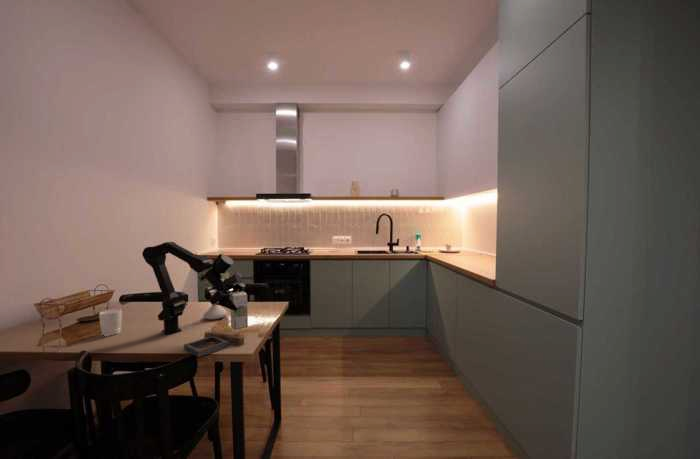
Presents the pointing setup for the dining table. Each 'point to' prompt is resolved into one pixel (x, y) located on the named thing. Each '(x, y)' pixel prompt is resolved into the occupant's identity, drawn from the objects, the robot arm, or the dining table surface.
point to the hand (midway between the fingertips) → (241, 307)
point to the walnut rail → (226, 337)
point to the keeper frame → (219, 345)
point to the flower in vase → (215, 306)
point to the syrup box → (239, 310)
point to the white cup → (111, 321)
